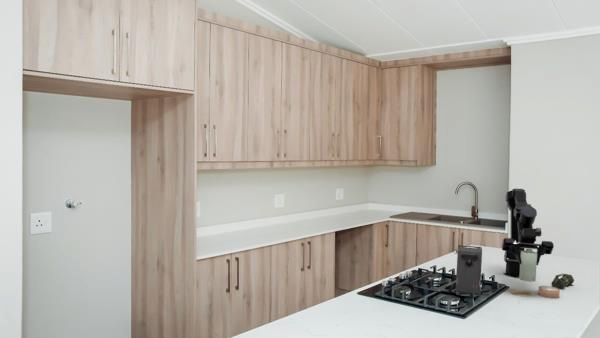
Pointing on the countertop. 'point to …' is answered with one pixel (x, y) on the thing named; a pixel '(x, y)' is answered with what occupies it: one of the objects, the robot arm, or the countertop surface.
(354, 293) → the countertop surface
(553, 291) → the ramekin
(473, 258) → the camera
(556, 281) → the green toy tank
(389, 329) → the countertop surface
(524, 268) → the cloche
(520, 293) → the cork mat
